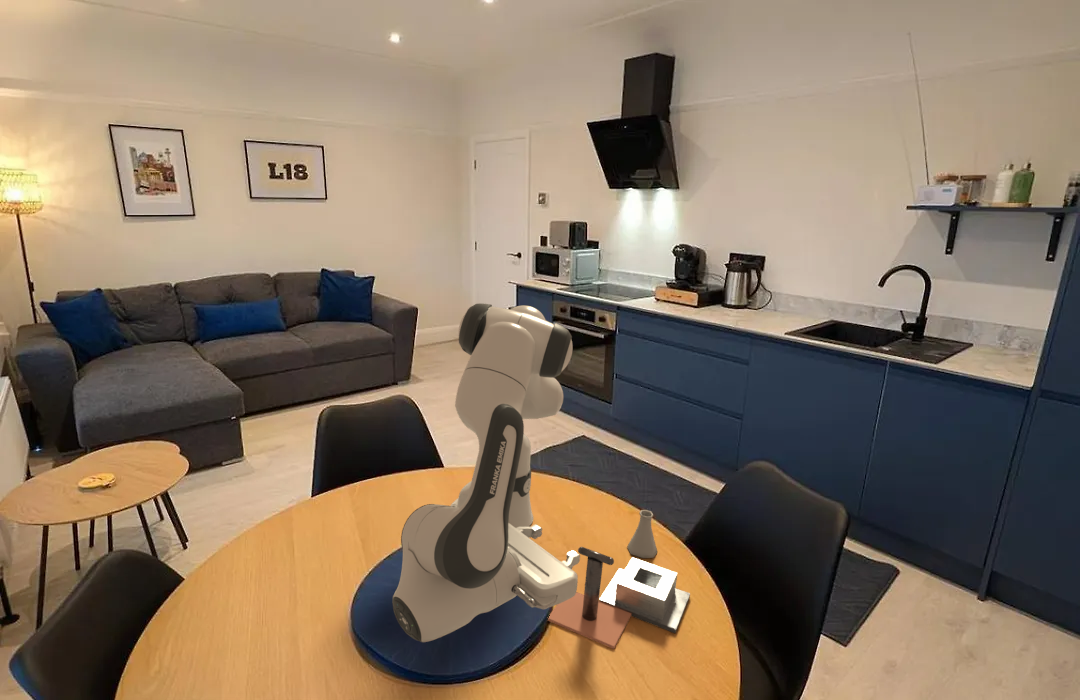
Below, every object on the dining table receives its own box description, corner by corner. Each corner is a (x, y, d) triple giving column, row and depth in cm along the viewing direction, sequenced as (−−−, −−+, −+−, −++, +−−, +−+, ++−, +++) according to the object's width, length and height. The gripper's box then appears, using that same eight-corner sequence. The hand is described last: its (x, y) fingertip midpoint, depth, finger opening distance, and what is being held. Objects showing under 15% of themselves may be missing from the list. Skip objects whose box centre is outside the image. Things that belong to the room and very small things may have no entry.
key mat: (547, 620, 108) (547, 617, 108) (568, 591, 117) (568, 588, 117) (613, 649, 102) (614, 646, 102) (631, 616, 110) (631, 613, 110)
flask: (657, 561, 128) (662, 524, 126) (626, 556, 130) (630, 519, 127) (657, 544, 135) (661, 508, 133) (627, 539, 137) (631, 503, 134)
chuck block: (599, 603, 114) (601, 580, 112) (618, 571, 124) (621, 550, 123) (675, 633, 107) (678, 609, 105) (689, 597, 117) (692, 575, 116)
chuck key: (569, 612, 110) (575, 550, 106) (575, 603, 112) (581, 542, 108) (603, 627, 106) (611, 563, 103) (609, 618, 109) (616, 555, 105)
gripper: (539, 594, 78) (603, 557, 87) (459, 527, 93) (521, 501, 102) (536, 630, 80) (600, 590, 89) (458, 559, 94) (519, 530, 104)
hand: (557, 542), depth 96 cm, fingers open, 8 cm apart
